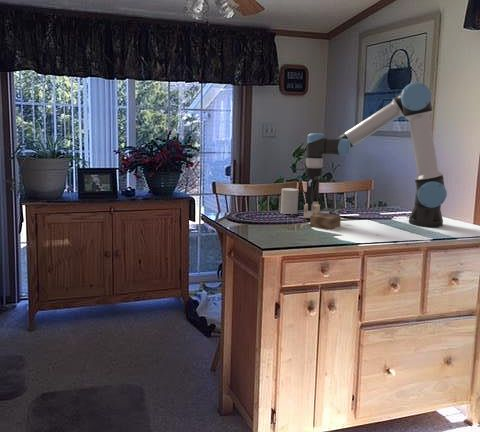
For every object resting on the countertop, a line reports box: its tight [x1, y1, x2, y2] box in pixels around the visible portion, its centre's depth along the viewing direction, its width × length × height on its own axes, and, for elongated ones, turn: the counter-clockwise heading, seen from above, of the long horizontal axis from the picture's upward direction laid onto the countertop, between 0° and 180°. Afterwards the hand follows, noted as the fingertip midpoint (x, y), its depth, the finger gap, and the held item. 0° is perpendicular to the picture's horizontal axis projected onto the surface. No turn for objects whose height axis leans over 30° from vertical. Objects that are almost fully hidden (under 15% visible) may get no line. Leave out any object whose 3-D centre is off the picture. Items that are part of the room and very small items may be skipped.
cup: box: [280, 187, 300, 216], centre depth 262 cm, size 8×8×12 cm
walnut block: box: [309, 212, 342, 230], centre depth 237 cm, size 10×10×5 cm
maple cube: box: [303, 203, 321, 219], centre depth 251 cm, size 6×6×6 cm
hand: (311, 216), depth 251 cm, fingers closed on maple cube, 6 cm apart
